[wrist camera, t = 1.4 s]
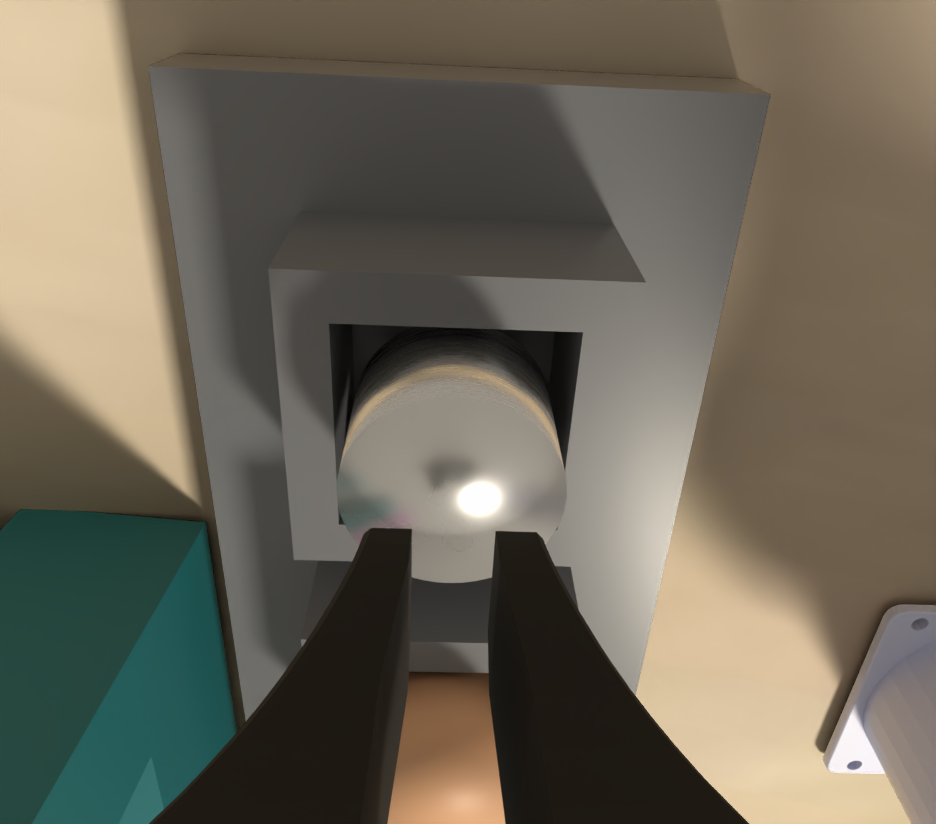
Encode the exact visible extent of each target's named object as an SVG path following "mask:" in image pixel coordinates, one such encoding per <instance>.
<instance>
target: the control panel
mask: <svg viewBox="0 0 936 824" xmlns="http://www.w3.org/2000/svg"><path fill="white" fill-rule="evenodd" d="M148 68H149V75H150V82H151V89H152V95H153V102H154V109H155V115H156V122H157V129H158V136H159V142H160V149H161V156H162V162H163V169H164V176H165V183H166V189H167V196H168V203H169V209H170V216H171V223H172V230H173V236H174V243H175V250H176V257H177V263H178V270H179V277H180V283H181V290H182V297H183V304H184V310H185V317H186V324H187V330H188V337H189V344H190V351H191V357H192V364H193V371H194V377H195V384H196V391H197V398H198V404H199V411H200V418H201V424H202V431H203V438H204V445H205V451H206V458H207V465H208V471H209V478H210V485H211V492H212V498H213V505H214V512H215V518H216V525H217V532H218V539H219V545H220V552H221V559H222V565H223V572H224V579H225V586H226V592H227V599H228V606H229V612H230V619H231V626H232V633H233V639H234V646H235V653H236V659H237V666H238V673H239V680H240V686H241V693H242V700H243V706H244V713H245V720H246V721H247V720H248V718H249V717H250V716H251V715H252V713H253V712H254V711H255V710H256V709H257V707H258V706H259V705H260V704H261V702H262V701H263V700H264V699H265V697H266V696H267V695H268V693H269V692H270V691H271V689H272V688H273V687H274V686H275V684H276V683H277V682H278V680H279V679H280V678H281V676H282V675H283V673H284V672H285V670H286V669H287V668H288V666H289V665H290V663H291V662H292V660H293V659H294V658H295V656H296V655H297V653H298V652H299V650H300V649H301V647H302V646H303V645H304V643H305V642H306V640H307V639H308V637H309V636H310V634H311V633H312V631H313V630H314V628H315V626H316V625H317V623H318V621H319V620H320V618H321V617H322V615H323V613H324V612H325V610H326V608H327V607H328V605H329V603H330V602H331V600H332V598H333V597H334V595H335V593H336V591H337V590H338V588H339V586H340V584H341V582H342V580H343V578H344V577H345V575H346V573H347V571H348V569H349V567H350V565H351V563H352V561H353V559H354V556H355V554H356V552H357V550H358V547H359V545H358V543H357V542H356V541H355V540H354V539H353V537H352V536H351V534H350V533H349V531H348V530H347V528H346V526H345V524H344V522H343V520H342V517H341V514H340V511H339V507H338V501H337V479H338V474H339V469H340V464H341V459H342V455H343V450H344V446H345V441H346V437H347V432H348V427H349V423H350V418H351V414H352V409H353V404H354V400H355V395H356V391H357V386H358V383H359V380H360V377H361V374H362V372H363V370H364V369H365V367H366V365H367V363H368V362H369V360H370V359H371V358H372V356H373V355H374V354H375V353H376V352H377V351H378V350H379V349H380V348H381V347H382V346H383V345H384V344H385V343H387V342H388V341H389V340H391V339H392V338H393V337H395V336H397V335H398V334H400V333H402V332H404V331H406V330H408V329H411V328H413V327H443V328H472V329H496V330H498V331H500V332H502V333H504V334H506V335H508V336H509V337H511V338H512V339H514V340H515V341H517V342H518V343H519V344H520V345H521V346H522V347H524V348H525V349H526V350H527V351H528V352H529V354H530V355H531V356H532V357H533V358H534V360H535V361H536V363H537V364H538V366H539V368H540V369H541V371H542V374H543V376H544V378H545V381H546V385H547V388H548V392H549V397H550V402H551V407H552V412H553V417H554V422H555V427H556V431H557V436H558V441H559V446H560V451H561V456H562V461H563V465H564V470H565V475H566V484H567V497H566V504H565V509H564V513H563V515H562V518H561V521H560V523H559V525H558V527H557V528H556V530H555V532H554V534H553V535H552V536H551V538H550V539H549V540H548V542H547V543H546V544H545V545H546V548H547V550H548V552H549V554H550V557H551V559H552V561H553V563H554V565H555V567H556V569H557V571H558V573H559V575H560V577H561V579H562V581H563V583H564V585H565V586H566V588H567V590H568V592H569V594H570V596H571V598H572V599H573V601H574V603H575V605H576V606H577V608H578V610H579V612H580V613H581V615H582V616H583V618H584V620H585V621H586V623H587V625H588V626H589V628H590V629H591V631H592V633H593V634H594V636H595V638H596V639H597V641H598V642H599V644H600V646H601V647H602V649H603V650H604V652H605V653H606V655H607V656H608V658H609V659H610V661H611V662H612V664H613V665H614V666H615V668H616V669H617V671H618V672H619V674H620V675H621V676H622V678H623V679H624V681H625V682H626V683H627V685H628V686H629V688H630V689H631V690H632V692H633V693H634V694H635V695H636V691H637V686H638V682H639V677H640V673H641V668H642V664H643V659H644V655H645V650H646V646H647V642H648V637H649V633H650V628H651V624H652V619H653V615H654V610H655V606H656V602H657V597H658V593H659V588H660V584H661V579H662V575H663V570H664V566H665V562H666V557H667V553H668V548H669V544H670V539H671V535H672V530H673V526H674V522H675V517H676V513H677V508H678V504H679V499H680V495H681V490H682V486H683V481H684V477H685V473H686V468H687V464H688V459H689V455H690V450H691V446H692V441H693V437H694V433H695V428H696V424H697V419H698V415H699V410H700V406H701V401H702V397H703V393H704V388H705V384H706V379H707V375H708V370H709V366H710V361H711V357H712V353H713V348H714V344H715V339H716V335H717V330H718V326H719V321H720V317H721V312H722V308H723V304H724V299H725V295H726V290H727V286H728V281H729V277H730V272H731V268H732V264H733V259H734V255H735V250H736V246H737V241H738V237H739V232H740V228H741V224H742V219H743V215H744V210H745V206H746V201H747V197H748V192H749V188H750V184H751V179H752V175H753V170H754V166H755V161H756V157H757V152H758V148H759V143H760V139H761V135H762V130H763V126H764V121H765V117H766V112H767V108H768V103H769V99H770V94H768V93H766V92H764V91H762V90H760V89H758V88H756V87H754V86H752V85H750V84H748V83H746V82H744V81H742V80H740V79H727V78H705V77H684V76H662V75H640V74H619V73H597V72H576V71H554V70H532V69H511V68H489V67H468V66H446V65H424V64H403V63H381V62H360V61H338V60H316V59H295V58H273V57H252V56H230V55H208V54H187V53H179V54H176V55H174V56H171V57H169V58H167V59H164V60H162V61H160V62H157V63H155V64H152V65H150V66H148ZM491 583H492V577H491V578H487V579H483V580H478V581H472V582H464V583H441V582H431V581H426V580H420V579H417V578H413V577H412V580H411V637H410V657H409V671H412V672H463V673H489V671H488V620H489V608H490V595H491Z"/></svg>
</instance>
